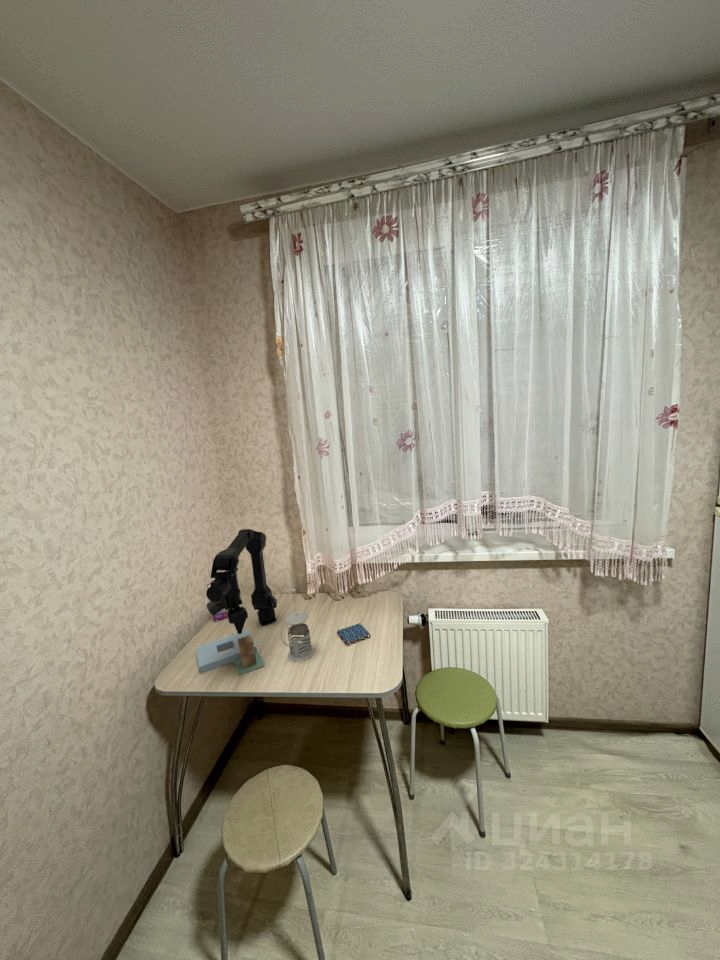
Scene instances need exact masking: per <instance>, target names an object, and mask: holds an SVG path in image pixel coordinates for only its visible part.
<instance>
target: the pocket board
mask: <svg viewBox="0 0 720 960" xmlns="http://www.w3.org/2000/svg"><path fill="white" fill-rule="evenodd" d="M249 635H251V637H252V640H253V644H254V650H255V653H258V648H257V645H256V642H255V641H254V637H253V635H252V633H251V631H250V629H247V630H242V633H241V634H238V633H237V632H236V633H235V634H231V635H228V636H226V637H221V638H220V639H216V640H213V641H210V642H207V643H205V644H201V645H199V646H196V647H195V650H196V657H197V663H198V665H197V666H198V671H199V674H202V673H207V672H208V671H211V670H214V669H216V668H219V667H221V666H225V665H228V664H231V663H234V661H236V660H238V659H241V657H240V651H239V645H238V639H240V638H243V637H246V636H249ZM232 647H233V648H232ZM229 648H232V649H229ZM227 649H228V650H227ZM225 650H227V651H225ZM221 651H223V652H221ZM219 652H220V653H219Z"/></svg>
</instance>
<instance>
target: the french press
mask: <svg viewBox="0 0 720 960" xmlns="http://www.w3.org/2000/svg"><path fill="white" fill-rule="evenodd" d="M295 593H297V590H296V589H295V588H291V590H290V594H292V595H293V597H295ZM293 602H294V605H296V600H295V598H293ZM294 609H295V610H294V611H295V612H292V613H290V614H289V615H288V616H286V618H285V623H286V624H287V625H290V627H288V626H287V625H286V626H284V628H283V629H282V632H281V637H280V638H281V642H282V644H283V645H285V646H286V647H288V648H289V651H288V653H287V658H288V659H289V660H290V661H293V662H303V661H306V660H308V659H310V658H311V657H312V656H314V654H315V651H316V650H315V647H313V646H312V643H311V642H312V641H311V634H310V629H309V625H308V624H306V623H305V622H306V621H307V620H308V618H309V616H308V614H307V613H305V612H303V611H297V608H296V606H294ZM285 629H286V630H285ZM284 630H285V633H284ZM287 632H288V633H287ZM283 633H284V634H283ZM286 634H287V638H288V639H287V640H288V644H287V643H286ZM283 635H284V637H283Z"/></svg>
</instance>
